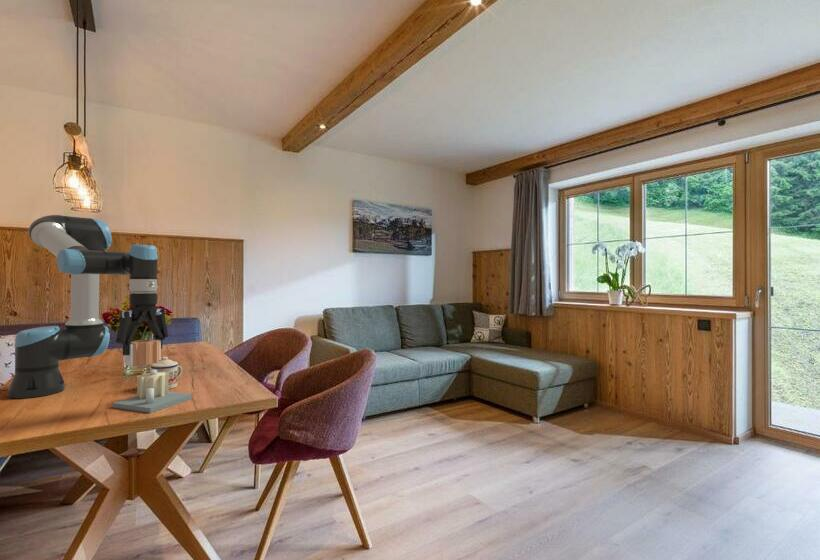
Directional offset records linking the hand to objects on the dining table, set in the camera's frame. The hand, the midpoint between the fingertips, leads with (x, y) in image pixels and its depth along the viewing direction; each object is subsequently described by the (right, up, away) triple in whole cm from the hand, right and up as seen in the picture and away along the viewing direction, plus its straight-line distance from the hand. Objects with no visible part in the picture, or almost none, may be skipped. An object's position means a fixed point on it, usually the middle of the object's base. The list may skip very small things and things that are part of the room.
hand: (143, 362), depth 130 cm
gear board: (0, -15, +5) cm, 16 cm away
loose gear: (0, 0, 0) cm, 0 cm away
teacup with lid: (-7, -15, +25) cm, 30 cm away
